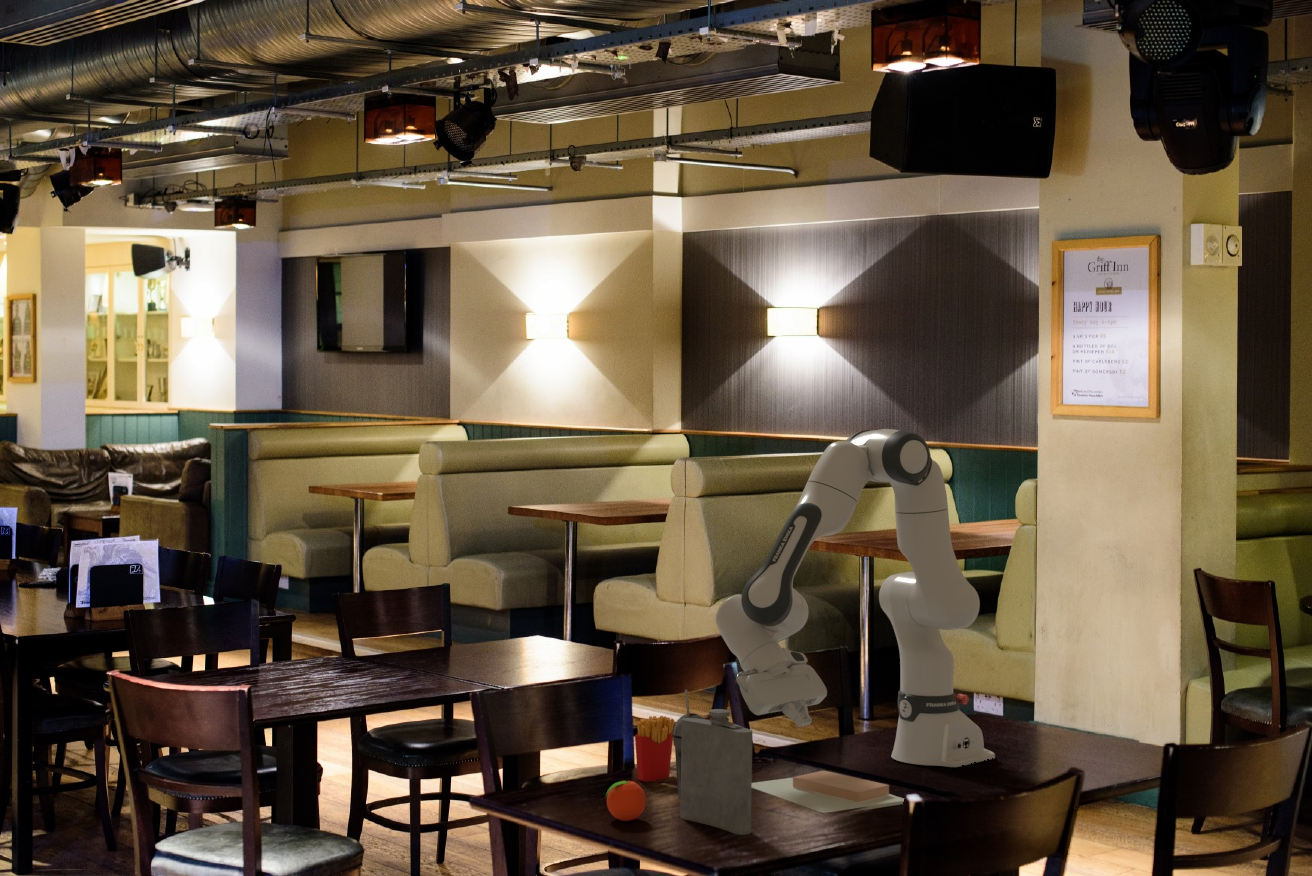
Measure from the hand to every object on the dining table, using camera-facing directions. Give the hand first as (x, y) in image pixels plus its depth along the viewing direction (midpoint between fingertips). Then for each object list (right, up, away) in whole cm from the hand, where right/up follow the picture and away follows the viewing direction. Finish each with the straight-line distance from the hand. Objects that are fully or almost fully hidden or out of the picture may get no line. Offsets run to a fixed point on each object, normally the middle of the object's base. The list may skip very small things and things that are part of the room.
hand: (805, 724), depth 298 cm
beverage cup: (-23, -12, -10) cm, 27 cm away
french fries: (-29, -12, +5) cm, 32 cm away
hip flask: (-18, -12, -30) cm, 37 cm away
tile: (0, -10, -1) cm, 10 cm away
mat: (+3, -12, -7) cm, 14 cm away
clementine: (-35, -12, -28) cm, 46 cm away
